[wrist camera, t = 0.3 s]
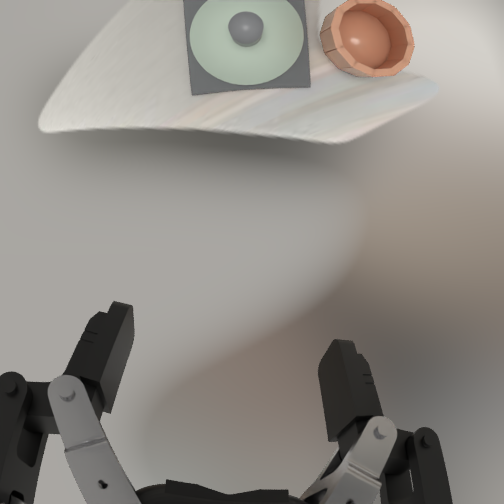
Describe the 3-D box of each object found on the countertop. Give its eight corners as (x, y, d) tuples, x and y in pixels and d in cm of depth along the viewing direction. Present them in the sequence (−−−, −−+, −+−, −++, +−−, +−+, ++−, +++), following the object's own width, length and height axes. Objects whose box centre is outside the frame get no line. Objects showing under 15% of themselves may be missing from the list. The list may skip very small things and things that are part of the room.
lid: (208, -20, 22) (201, -36, 18) (315, 5, 24) (326, -6, 20) (178, 72, 28) (166, 71, 24) (284, 97, 30) (290, 100, 26)
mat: (184, -7, 24) (182, -8, 23) (301, -15, 23) (302, -16, 23) (192, 95, 30) (191, 95, 30) (309, 87, 30) (310, 87, 29)
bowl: (332, -5, 24) (344, -17, 19) (401, 27, 25) (421, 22, 21) (311, 58, 28) (321, 54, 24) (381, 87, 29) (400, 90, 25)
